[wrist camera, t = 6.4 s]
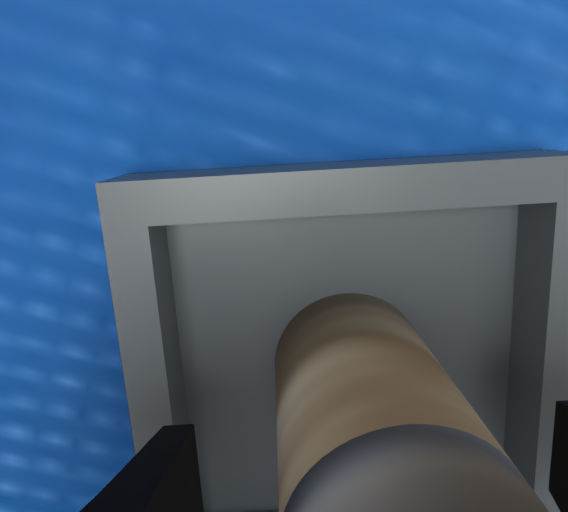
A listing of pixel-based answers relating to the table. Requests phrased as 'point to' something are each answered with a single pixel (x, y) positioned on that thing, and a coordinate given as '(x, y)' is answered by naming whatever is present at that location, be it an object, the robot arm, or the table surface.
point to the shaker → (380, 421)
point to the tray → (337, 280)
